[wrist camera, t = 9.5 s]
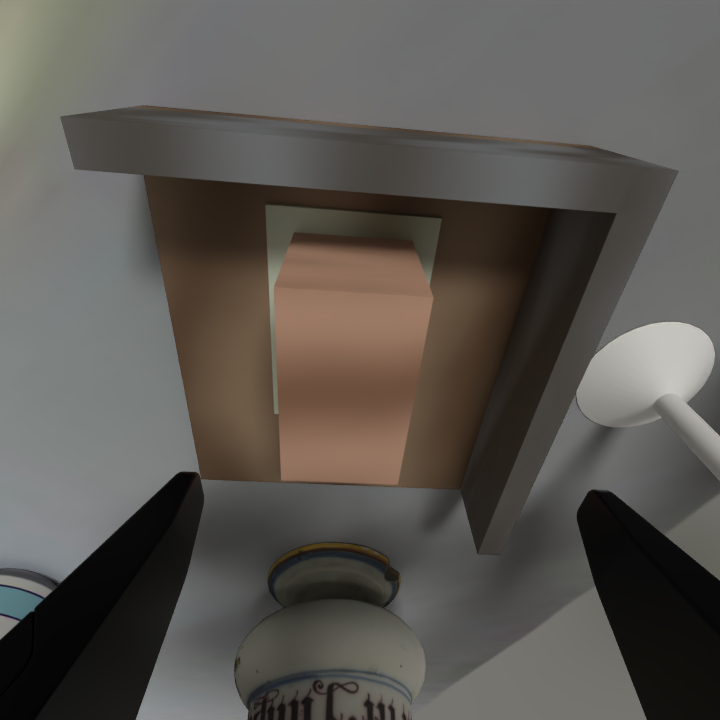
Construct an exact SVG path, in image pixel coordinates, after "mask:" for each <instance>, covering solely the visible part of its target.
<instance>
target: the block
mask: <svg viewBox="0 0 720 720" xmlns="http://www.w3.org/2000/svg"><path fill="white" fill-rule="evenodd" d="M433 298H434V297H433V295H432V292H431V289H430V286H429V284H428V281H427V278H426V276H425V273H424V270H423V268H422V265H421V262H420V260H419V257H418V254H417V252H416V249H415V246H414V244H413V241H409V240H395V239H381V238H367V237H353V236H339V235H325V234H311V233H297V232H294V234H293V236H292V239H291V242H290V245H289V247H288V250H287V253H286V255H285V258H284V261H283V263H282V266H281V269H280V272H279V274H278V277H277V280H276V282H275V285H274V307H275V333H276V359H277V385H278V411H279V437H280V463H281V480H284V481H310V482H336V483H362V484H388V485H398V481H399V476H400V471H401V465H402V460H403V455H404V450H405V444H406V439H407V434H408V429H409V424H410V418H411V413H412V408H413V403H414V397H415V392H416V387H417V382H418V376H419V371H420V366H421V361H422V356H423V350H424V345H425V340H426V335H427V329H428V324H429V319H430V314H431V309H432V303H433Z"/></svg>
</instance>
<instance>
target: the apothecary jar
mask: <svg viewBox="0 0 720 720" xmlns="http://www.w3.org/2000/svg"><path fill="white" fill-rule="evenodd" d="M400 581H401V579H400V574H399V572H397V571H395V570H393V569H392V568H390V567H389V559H388V558H387V557H385V556H384V555H382V554H381V553H379V552H377V551H375V550H372V549H370V548H367V547H364V546H359V545H354V544H348V543H318V544H312V545H307V546H304V547H300V548H297V549H295V550H293V551H291V552H289V553H287V554H285V555H284V556H282V557H281V558H280V559H279V560H277V561H276V562H275V563H274V565H273V566H272V567H271V569H270V571H269V574H268V587H269V590H270V592H271V594H272V595H273V597H274V598H275V600H276V601H277V602H278V603H279V604H280V605H282V606H283V607H285V608H282V609H280V610H278V611H276V612H274V613H273V614H271V615H269V616H268V617H266V618H265V619H264V620H262V621H261V622H260V623H259V624H258V625H257V626H256V627H255V628H254V629H253V630H252V631H251V632H250V633H249V634H248V635H247V637H246V638H245V639H244V641H243V642H242V644H241V646H240V648H239V650H238V653H237V655H236V659H235V667H234V676H235V683H236V687H237V690H238V693H239V696H240V698H241V700H242V702H243V703H244V705H245V706H246V708H247V709H248V710H249V712H248V720H412V713H411V705H412V704H413V703H414V701H415V700H416V698H417V696H418V695H419V693H420V691H421V688H422V686H423V683H424V679H425V672H426V660H425V654H424V651H423V648H422V645H421V643H420V641H419V639H418V638H417V636H416V635H415V633H414V632H413V631H412V630H411V629H410V627H409V626H408V625H407V624H406V623H405V622H403V621H402V620H401V619H400V618H399V617H397V616H396V615H395V614H393V613H391V612H390V611H388V610H386V609H384V607H386V606H387V605H388V604H389V603H390V602H391V601H392V600H393V599H394V598H395V596H396V595H397V593H398V590H399V587H400Z"/></svg>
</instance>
